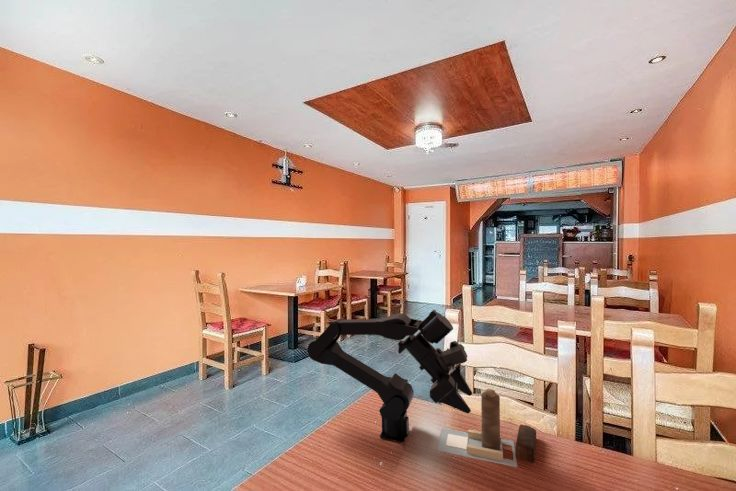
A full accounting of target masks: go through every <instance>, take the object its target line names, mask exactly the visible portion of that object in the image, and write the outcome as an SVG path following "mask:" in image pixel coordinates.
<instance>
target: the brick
mask: <svg viewBox="0 0 736 491" xmlns="http://www.w3.org/2000/svg"><path fill="white" fill-rule="evenodd" d="M536 444H537V430H536V429H535V428H534V427H531V426H530V425H525V424H519V426H518V431H517V437H516V443H515V454H516V459H517V460H518V459H519V460H522V461H525V462H529V463H531V464H533V463H535V459H536V457H535V456H536V455H535V454H536Z"/></svg>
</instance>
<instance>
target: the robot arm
mask: <svg viewBox="0 0 736 491" xmlns="http://www.w3.org/2000/svg"><path fill="white" fill-rule="evenodd" d="M453 330H454V327H453V324H452V323H451V322H450V321H449V319H448V318H447V317H446V316H444V315H442V314H441V313H440V312H438V311H436V309H432V311H430V313H428V316H426V317H425V318H424V319H423V320H419V319H416V318H410V317H409V316H408V315H407V314H405V313H397V314H392V315H388V316H385V317H382V318H364V319H363V318H362V319H361V318H358V319H357V318H356V319H355V318H354V319H353V318H350V319H345V318H344V319H342V318H337V319H335V320H333V321H331V322H330V324H329V325H328V326H327V328H326V329H324V331H323V332H322V333H321V334H319V336H318V337H317V338H316V339H314V340H312V341H311V342H309V344H308V346H307V353H308V357H309V358H310V359H311V360H312V361H314V362H316V363H319V364H322V365H327V366H333V367H335V368H337V369H338V370H339V371H342V372H343V373H345V374H347V375H348V376H349V377H351V378H352V379H355V381H358V382H359V383H360V384H362V385H364V386H365V387H367V388H369V390H370V389H371V390H372V391H373V392H375V393H376V394H377V395H378V396H379V398H380V399H381V400H380V401H382V403H383V404H382V405H381V406H380V408H379V414H380V418H381V432H380V434H379V438H380V439H382V440H388V441H393V442H397V443H404V442H405V439H406V437H408V435H409V432H410V421H409V419H410V418H409V416H408V414H407V413H408V409H409V407H410V405H411V403H412V400H413V398H414V396H415V392H414V388H413V386H412V384H410V383H409V382H408V381H409V380H408V379H405V378H403V377H401V376H400V375H399V374H398V373H393V375H392V376H386V375H384V374H382V373H380V372H379V371H377V370H376V369H374V368H372V367H370V366H369V365H368V364H366V363H364V362H362V361H360V360H359V359H357V358H356V357H354V356H352V355H351V354H349V353H347V352H345V351H344V349H342V347H341V345H340V344H339V343H338V340H339V339H340V338H341V336H349V335H350V336H351V335H352V336H353V335H354V336H358V335H359V336H378V337H379V336H380V337H382V338H384V339H388V340H394V341H398V342H397V345H398V349H397V350H398V354H402V353H403V352H404V351H405V350H406V351H407V352H408V353H409V354H410V356H411V357H412V358H413V359H414V360H415V361H416V362H417V363H418V365H419V367H418V368H419V370H420V371H424V372H426V374H428V375H429V377H430V381H431V383H432V385H431V386H430V389H429V398H430V399H431V400H432V401H433V402H434V403H435V404H437V403H439V404H444V405H446V406H449V407H450V408H451V407H452V408H455V409H456V410H459V411H460V412H463V413H466V414H467V415H468V414H470V413H471V408H470V407H469V405H468V404H467V402H466V401H465V400H464V398H463V397H462V395H461V394H460V393H459V391H460V392H462V393H463V394H466V395H467V396H469V397H470V396H472V395H473V392H472V389H471V388H470V386H469V384H468V382H467V381H466V379H465V377H464V375H463V373H462V371H461V370H462V364H465V363H466V362H467V361H468V354H467V352H466V350H465V346H463V344H462V343H459V342H458V341H456V340H453V341H451V342H450V343H449V348H446V349H445V350H442V349H441V348H439V347H436V348H435V347H434V346H433V345H432V344H439V343H440V342H441V341H442V340H444V338H446V337H447V336H448V335H449V334H450V333H451V332H452V331H453ZM418 331H419V332H418ZM405 338H406V339H405ZM404 339H405V340H404ZM458 390H459V391H458Z"/></svg>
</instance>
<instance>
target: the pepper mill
mask: <svg viewBox="0 0 736 491" xmlns="http://www.w3.org/2000/svg"><path fill="white" fill-rule="evenodd" d="M480 396H481V397H480V398H481V400H480V401H481V402H480V403H481V411H480V412H481V432H482V447H483V448H488V449H493V450H498V451H500V435H501V404H500V402H501V401H500V400H501V399H500V395H499V394H497V393H496V390H494V389H493V388H486V389H485V391H484V392H482V393H481V395H480Z"/></svg>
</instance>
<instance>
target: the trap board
mask: <svg viewBox="0 0 736 491" xmlns="http://www.w3.org/2000/svg"><path fill="white" fill-rule="evenodd" d="M438 438H439V439H438V441H437V442H438V443H437V447H436V451H438V452H442V453H447V454H452V455H457V456H460V457H465V458H470V459H474V460H480V461H485V462H488V463H489V462H490V463H495V464H498V465H504V466H509V467H514V468H518V462H517V458H516V446H515V442H514V440H509V439H505V438H504V439H503V438H502V434H500V451H498V450H493V449H488V448H483V447H482V431H481V430H480V431H479V430H473V429H468V430H467V432H465V431H461V430H455V429H451V428H445V427H441V428H440V434H439V437H438ZM503 445H504V446H511V450H512V457H513V459H510V458H504V448H503Z"/></svg>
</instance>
